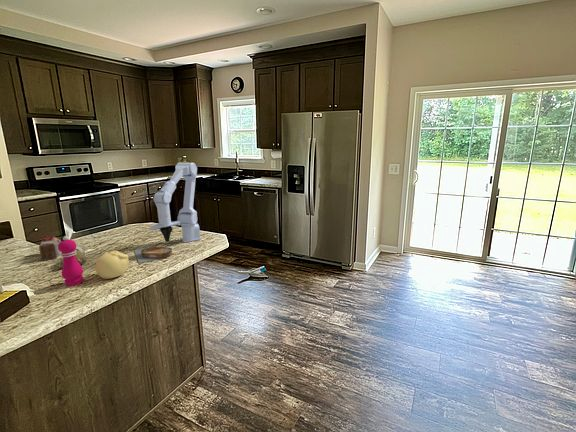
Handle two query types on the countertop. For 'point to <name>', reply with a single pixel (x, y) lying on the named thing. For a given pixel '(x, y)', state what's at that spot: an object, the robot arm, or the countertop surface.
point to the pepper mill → (70, 263)
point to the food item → (49, 248)
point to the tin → (156, 252)
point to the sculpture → (111, 264)
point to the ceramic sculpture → (79, 256)
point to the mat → (143, 259)
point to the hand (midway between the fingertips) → (167, 240)
